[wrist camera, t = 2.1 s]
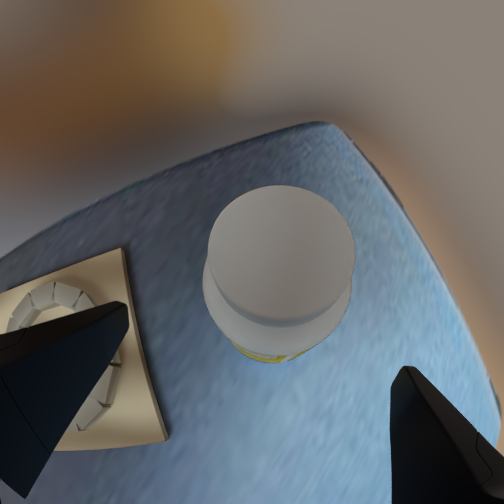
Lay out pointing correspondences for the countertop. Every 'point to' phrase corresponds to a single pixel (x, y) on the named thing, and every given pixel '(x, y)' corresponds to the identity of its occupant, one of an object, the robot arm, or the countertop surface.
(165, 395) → the countertop surface
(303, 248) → the pill bottle
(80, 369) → the robot arm
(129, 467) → the countertop surface
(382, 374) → the countertop surface
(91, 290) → the collar board
